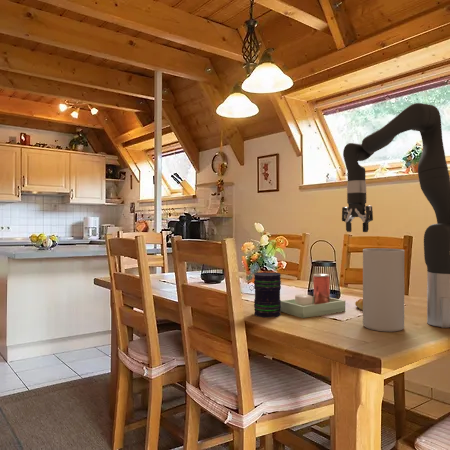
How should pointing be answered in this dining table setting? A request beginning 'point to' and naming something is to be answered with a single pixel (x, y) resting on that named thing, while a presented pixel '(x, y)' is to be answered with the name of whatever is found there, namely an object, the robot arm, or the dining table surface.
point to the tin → (321, 288)
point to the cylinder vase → (383, 289)
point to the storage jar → (267, 294)
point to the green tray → (312, 308)
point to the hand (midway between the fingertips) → (357, 232)
